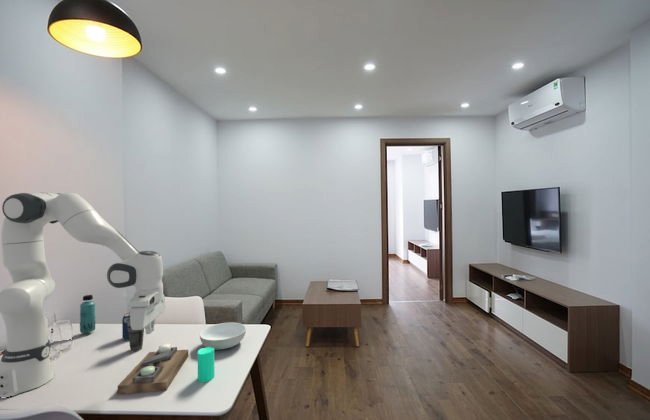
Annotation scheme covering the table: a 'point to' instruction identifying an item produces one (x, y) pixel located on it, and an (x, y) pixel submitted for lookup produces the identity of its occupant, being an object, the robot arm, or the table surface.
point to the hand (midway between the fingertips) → (149, 332)
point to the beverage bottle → (87, 315)
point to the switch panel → (159, 379)
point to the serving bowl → (222, 335)
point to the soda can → (125, 326)
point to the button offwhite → (164, 348)
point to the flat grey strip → (156, 358)
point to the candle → (205, 364)
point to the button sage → (148, 371)
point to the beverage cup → (135, 338)
